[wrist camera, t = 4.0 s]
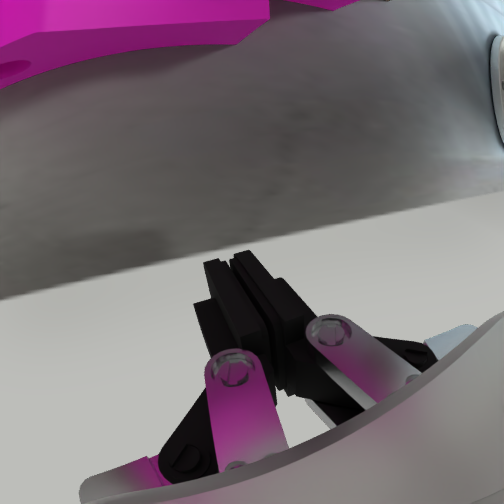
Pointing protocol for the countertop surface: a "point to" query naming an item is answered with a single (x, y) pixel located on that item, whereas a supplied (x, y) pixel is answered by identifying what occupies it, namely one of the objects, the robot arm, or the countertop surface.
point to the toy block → (119, 28)
